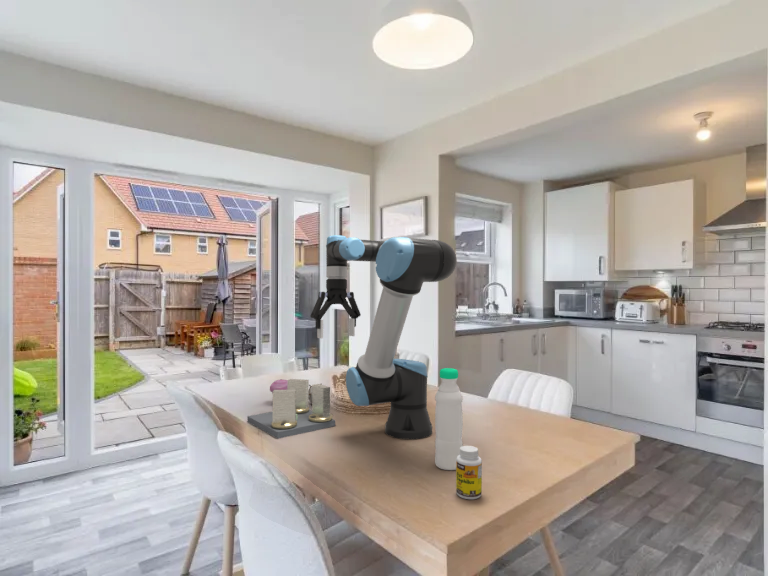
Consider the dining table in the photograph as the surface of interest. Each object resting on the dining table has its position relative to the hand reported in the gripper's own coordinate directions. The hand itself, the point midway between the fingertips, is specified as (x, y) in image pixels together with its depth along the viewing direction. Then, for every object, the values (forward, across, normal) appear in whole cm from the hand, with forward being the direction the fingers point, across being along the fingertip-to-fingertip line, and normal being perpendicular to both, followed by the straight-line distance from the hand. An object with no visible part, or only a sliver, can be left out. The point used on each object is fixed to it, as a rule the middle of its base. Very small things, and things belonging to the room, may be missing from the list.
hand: (336, 337), depth 160 cm
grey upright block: (+26, +10, +6) cm, 29 cm away
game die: (+29, -4, -20) cm, 35 cm away
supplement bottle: (+29, +12, +71) cm, 78 cm away
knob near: (+26, +23, +5) cm, 35 cm away
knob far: (+26, +11, -8) cm, 30 cm away
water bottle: (+29, +3, +57) cm, 64 cm away
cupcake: (+29, +7, -29) cm, 42 cm away
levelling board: (+29, +17, -2) cm, 33 cm away
